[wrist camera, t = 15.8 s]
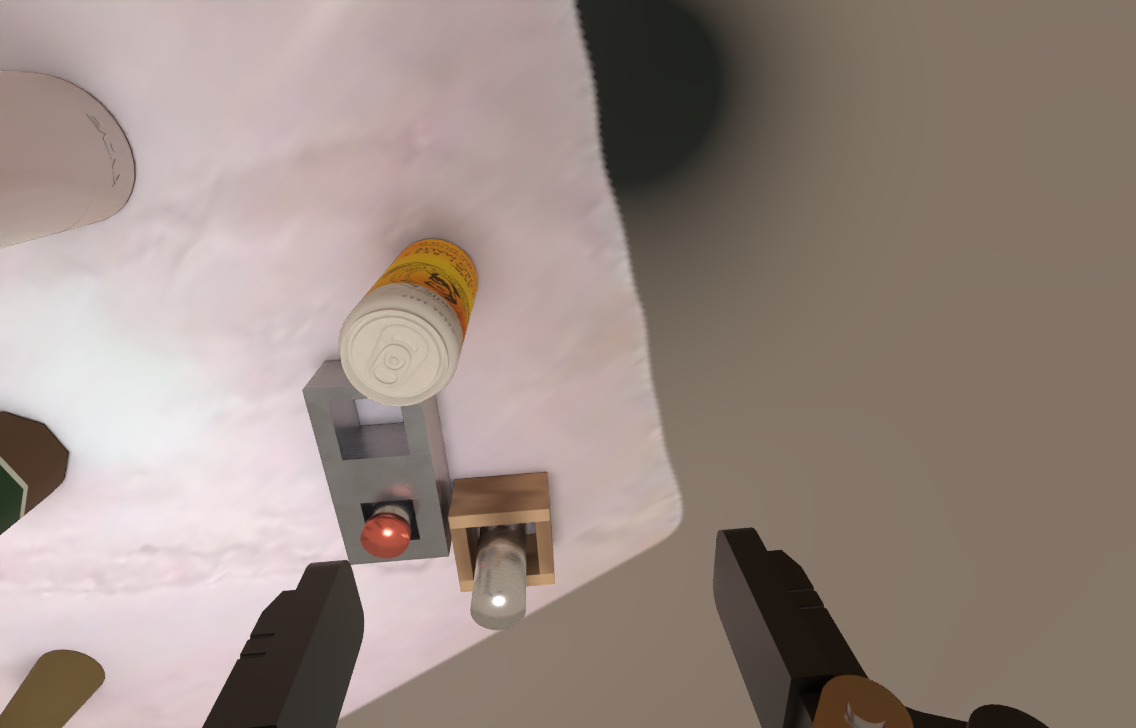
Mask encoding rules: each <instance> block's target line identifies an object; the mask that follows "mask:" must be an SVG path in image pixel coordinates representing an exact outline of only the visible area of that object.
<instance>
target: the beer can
mask: <svg viewBox="0 0 1136 728" xmlns="http://www.w3.org/2000/svg"><path fill="white" fill-rule="evenodd" d="M477 286H478V279H477V273H476V270H475V267H474V265H473V263H472V261H471V260H470V258H469V257H468V256H467V255H466V254H465V253H464V252H463V251H462V250H461V249H460V248H458V247H457V246H455V245H453V244H451V243H449V242H446V241H443V240H437V239H427V240H421V241H418V242H416V243H413V244H412V245H410V246H408V247H407V248H406V249H405V250H404V251H403V252H402V253H401V254H400V255H399V256H398V257H397V259H396V260H395V261H394V262H393V263H392V264H391V266H390V267H389V268H388V269H387V270H386V272H385V273H384V274H383V275H382V276H381V277H380V279H379V280H378V281H377V282H376V283H375V285H374V286H373V287H372V288H371V289H370V290H369V292H368V293H367V294H366V295H365V296H364V298H363V299H362V300H361V301H360V302H359V303H358V305H357V306H356V307H355V308H354V309H353V311H352V312H351V313H350V314H349V315H348V317H347V318H346V320H345V322H344V323H343V326H342V328H341V331H340V335H339V352H340V357H341V363H342V367H343V370H344V372H345V374H346V376H347V378H348V379H349V381H350V382H351V384H352V385H353V386H354V387H355V388H356V389H357V390H358V391H359V392H360V393H362V394H363V395H365V396H366V397H368V398H369V399H371V400H374V401H376V402H379V403H381V404H385V405H391V406H408V405H413V404H417V403H419V402H422V401H424V400H426V399H428V398H429V397H431V396H433V395H435V394H437V393H438V392H439V391H441V390H442V389H443V388H444V387H445V386H446V385H447V384H448V383H449V381H450V380H451V378H452V377H453V375H454V373H455V370H456V368H457V364H458V360H459V357H460V353H461V349H462V345H463V341H464V338H465V334H466V330H467V326H468V323H469V319H470V315H471V311H472V308H473V304H474V300H475V296H476V292H477Z"/></svg>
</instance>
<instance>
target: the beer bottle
mask: <svg viewBox="0 0 1136 728" xmlns="http://www.w3.org/2000/svg"><path fill="white" fill-rule="evenodd" d="M67 456H68V451H67V450H66V449H65V448H64V447H63V446H62V444H61V443H60V442H59V441H58V440H57V439H56V438H55V437H54V435H53V434H52V433H51V432H50V431H49V430H48V429H47V427H46V426H45V425H44V424H40V423H37V422H34V421H31V420H27V419H24V418H21V417H18V416H14V415H11V414H8V413H5V412H4V413H0V535H1V534H2V533H3V532H5V531H6V530H7V529H8V528H10V527H11V526H12V525H13V524H14V523H16V522H17V521H18V520H19V519H21V518H22V517H23V516H24V515H25V514H27V513H28V512H29V511H30V510H32V509H33V508H34V507H35V506H36V505H38V504H39V503H40V502H41V501H43V500H44V499H45V498H46V497H47V496H49V495H50V494H51V493H52V492H53V491H54V490H55V489H56V488H57V487H58V486H59V485H60V484H61V483H62V482H63V479H64V474H65V468H66V462H67Z"/></svg>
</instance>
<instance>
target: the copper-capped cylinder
mask: <svg viewBox="0 0 1136 728" xmlns="http://www.w3.org/2000/svg"><path fill="white" fill-rule="evenodd" d="M413 513H414V505H413V500H412V499H409V500H396V501H384V502H377V505H376V507H375V510H374V513H373V515H372V516H371V517H370V518H369V519H368V520H367V521H366V523H365V525H364V528H363V530H362V533H361V537H360V540H361V544H362V546H363V548H364V549H365V550H366V551H367V552H368V553H370V554H371V555H373V556H376V557H379V558H394V557H397V556H399V555H401V554H402V553H404V552H405V551H406V549H407V548H408V546H409V542H410V538H411V534H412V530H411V526H410V523H411V520H412V516H413Z"/></svg>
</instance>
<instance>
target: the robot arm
mask: <svg viewBox="0 0 1136 728" xmlns="http://www.w3.org/2000/svg"><path fill="white" fill-rule="evenodd" d="M133 183H134V162H133V158H132V154H131V150H130V147H129V145H128V142H127V140H126V138H125V136H124V134H123V132H122V130H121V129H120V127H119V126H118V124H117V123H116V121H115V120H114V118H113V117H112V116H111V115H110V114H109V113H108V111H107V110H106V109H105V108H104V107H103V106H102V105H101V104H100V103H99V102H98V101H97V100H95V99H94V98H93V97H91V96H90V95H89V94H88V93H86V92H85V91H84V90H82V89H80V88H78V87H76V86H75V85H73V84H71V83H69V82H68V81H65V80H62V79H59V78H56V77H54V76H51V75H45V74H39V73H31V72H16V71H1V70H0V248H3V247H7V246H11V245H14V244H18V243H22V242H26V241H29V240H33V239H37V238H40V237H44V236H48V235H51V234H56V233H60V232H63V231H67V230H70V229H74V228H77V227H81V226H84V225H88V224H91V223H95V222H99V221H102V220H105V219H107V218H109V217H111V216H112V215H114V214H116V213H117V212H118V211H119V210H120V209H121V208H122V207H123V206H124V205H125V204H126V202H127V200H128V198H129V196H130V194H131V192H132V187H133ZM713 591H714V598H715V603H716V607H717V611H718V614H719V616H720V619H721V621H722V624H723V627H724V629H725V632H726V635H727V637H728V640H729V642H730V645H731V648H732V650H733V653H734V656H735V658H736V661H737V664H738V666H739V669H740V672H741V674H742V677H743V680H744V682H745V685H746V687H747V690H748V693H749V695H750V698H751V701H752V703H753V706H754V708H755V711H756V714H757V716H758V719H759V722H760V724H761V727H762V728H1049V727H1047V726H1046V725H1045V724H1043V723H1042V722H1040V721H1039V720H1037V719H1036V718H1034V717H1032V716H1030V715H1028V714H1027V713H1024V712H1022V711H1020V710H1018V709H1015V708H1012V707H1008V706H1003V705H994V704H990V705H984V706H981V707H979V708H977V709H976V710H974V711H973V713H972V714H971V716H970V718H969V721H968V722H965V721H960V720H956V719H951V718H946V717H942V716H937V715H932V714H928V713H923V712H919V711H916V710H913V709H911V708H908V707H906V706H904V705H903V704H902V702H901V701H900V700H899V699H898V698H897V697H896V696H895V695H894V694H893V693H892V692H891V691H889V690H888V689H887V688H885V687H884V686H882V685H880V684H879V683H877V682H875V681H873V680H870V679H869V678H868V677H867V675H866V674H865V672H864V671H863V669H862V667H861V666H860V664H859V662H858V661H857V659H856V658H855V656H854V654H853V652H852V651H851V649H850V647H849V646H848V644H847V642H846V641H845V639H844V637H843V636H842V634H841V633H840V631H839V629H838V628H837V625H836V624H835V622H834V620H833V619H832V617H831V615H830V614H829V612H828V610H827V609H826V608H824V604H823V602H822V600H821V599H820V597H819V595H818V594H817V592H816V591H814V587H813V585H812V584H811V582H810V580H809V579H808V577H807V575H806V574H805V572H804V570H803V569H802V567H801V566H800V565H799V564H797V563H796V562H795V561H794V560H792V558H790V557H789V556H788V555H787V554H786V553H785V552H783V551H782V550H775V551H767V550H766V548H765V546H764V544H763V542H762V540H761V538H760V537H759V535H758V533H757V531H756V530H755V529H754V528H752V527H751V528H740V529H728V530H719V531H718V533H717V538H716V551H715V564H714V577H713ZM363 633H364V613H363V608H362V605H361V601H360V597H359V594H358V590H357V586H356V582H355V579H354V575H353V571H352V568H351V565H350V563H349V561H347V560H341V561H329V562H317V563H310V564H309V565H308V566H307V568H306V570H305V572H304V574H303V576H302V578H301V580H300V582H299V584H298V586H297V588H296V590H289V591H282V592H281V593H280V594H279V596H278V597H277V598H276V599H275V600H274V601H273V602H272V603H271V604H270V605H269V606H268V607H267V608H266V609H265V610H264V611H263V612H262V614H261V615H260V617H259V619H258V621H257V623H256V625H255V627H254V629H253V631H252V633H251V635H250V640H248V641H247V642H246V644H245V646H244V648H243V650H242V652H241V654H240V659H239V660H237V662H236V664H235V666H234V667H233V669H232V671H231V673H230V675H229V677H228V679H227V681H226V683H225V685H224V687H223V689H222V691H221V692H220V694H219V696H218V698H217V700H216V702H215V704H214V706H213V708H212V710H211V712H210V714H209V716H208V717H207V719H206V721H205V723H204V725H203V727H202V728H336V725H337V722H338V719H339V715H340V712H341V709H342V706H343V702H344V699H345V696H346V693H347V689H348V686H349V683H350V679H351V676H352V673H353V670H354V666H355V663H356V660H357V657H358V653H359V650H360V647H361V643H362V639H363Z"/></svg>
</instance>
